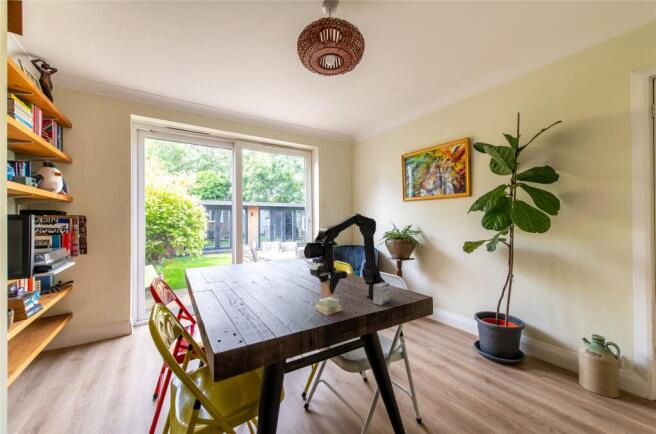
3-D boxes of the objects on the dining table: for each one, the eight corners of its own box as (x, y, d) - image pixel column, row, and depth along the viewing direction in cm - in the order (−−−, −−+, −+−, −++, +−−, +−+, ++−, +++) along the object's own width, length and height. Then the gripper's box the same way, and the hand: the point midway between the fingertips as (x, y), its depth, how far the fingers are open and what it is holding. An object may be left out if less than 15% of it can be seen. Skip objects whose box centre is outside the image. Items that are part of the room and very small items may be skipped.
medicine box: (381, 305, 116) (382, 286, 116) (373, 303, 119) (373, 284, 119) (389, 301, 122) (389, 283, 122) (381, 299, 125) (381, 281, 125)
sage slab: (329, 302, 117) (329, 296, 117) (339, 305, 112) (338, 300, 112) (318, 305, 112) (317, 299, 113) (327, 309, 107) (327, 303, 108)
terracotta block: (329, 292, 115) (328, 280, 115) (335, 294, 112) (335, 282, 112) (321, 294, 112) (320, 282, 113) (327, 297, 109) (327, 283, 109)
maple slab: (329, 307, 117) (329, 301, 118) (341, 311, 111) (341, 305, 111) (315, 311, 112) (315, 305, 112) (327, 316, 106) (327, 310, 106)
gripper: (300, 256, 114) (300, 292, 114) (326, 260, 100) (328, 301, 100) (319, 254, 122) (320, 287, 121) (347, 257, 107) (348, 295, 107)
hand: (328, 292), depth 112 cm, fingers closed on terracotta block, 4 cm apart
